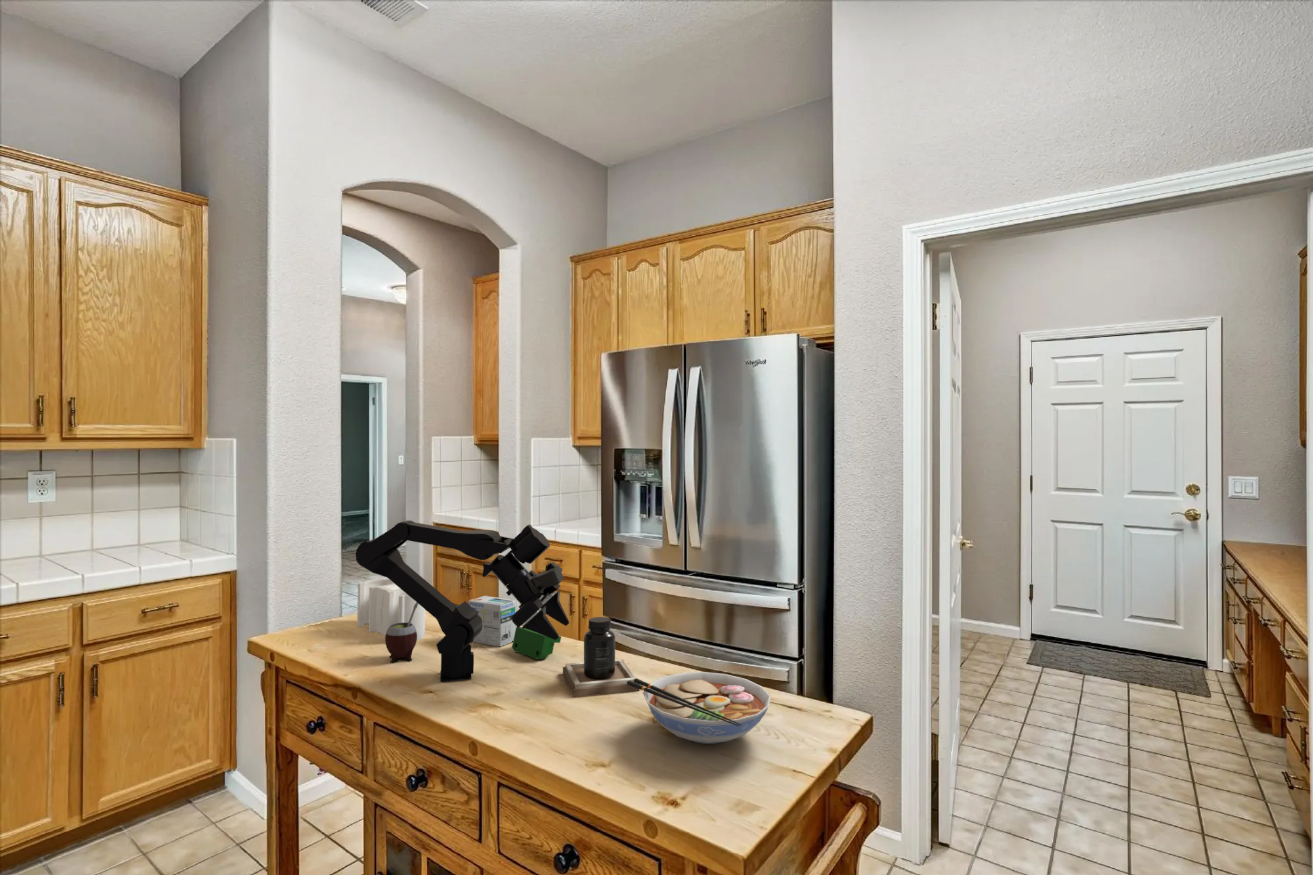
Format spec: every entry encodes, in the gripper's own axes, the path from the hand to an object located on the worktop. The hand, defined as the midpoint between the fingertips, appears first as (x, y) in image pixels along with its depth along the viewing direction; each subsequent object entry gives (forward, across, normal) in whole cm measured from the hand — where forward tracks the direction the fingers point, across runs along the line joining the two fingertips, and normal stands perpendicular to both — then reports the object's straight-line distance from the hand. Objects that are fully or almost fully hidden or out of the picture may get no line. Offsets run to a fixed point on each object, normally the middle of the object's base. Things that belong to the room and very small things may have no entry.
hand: (562, 631), depth 143 cm
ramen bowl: (+29, -23, -17) cm, 41 cm away
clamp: (+2, +16, +16) cm, 23 cm away
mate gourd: (-19, +8, +37) cm, 43 cm away
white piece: (-28, +28, +48) cm, 62 cm away
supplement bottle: (+12, 0, 0) cm, 12 cm away
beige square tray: (+14, 0, +1) cm, 14 cm away
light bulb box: (-8, +24, +26) cm, 36 cm away
